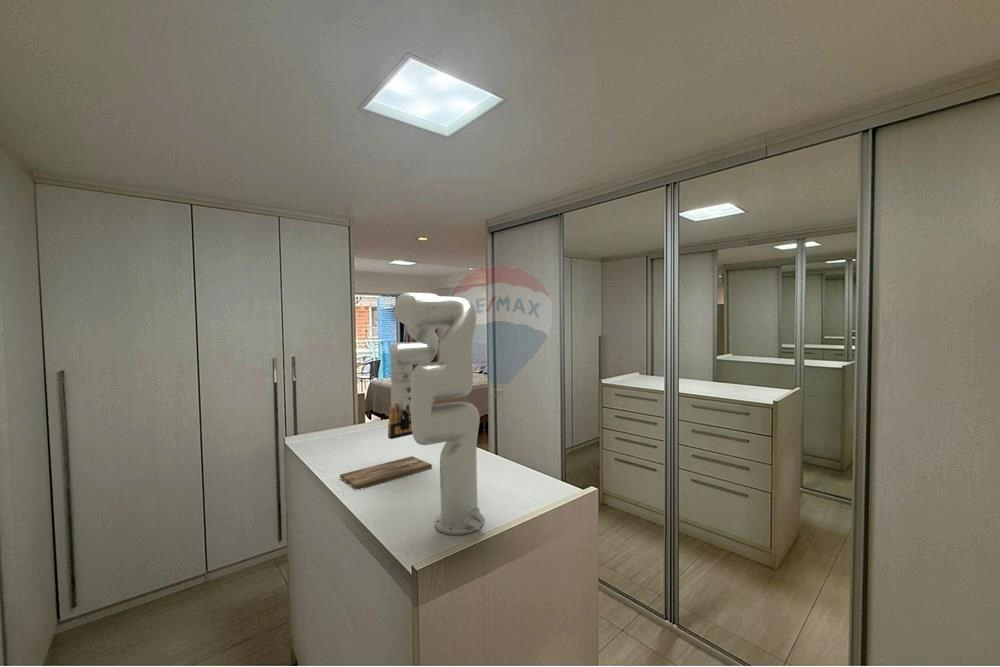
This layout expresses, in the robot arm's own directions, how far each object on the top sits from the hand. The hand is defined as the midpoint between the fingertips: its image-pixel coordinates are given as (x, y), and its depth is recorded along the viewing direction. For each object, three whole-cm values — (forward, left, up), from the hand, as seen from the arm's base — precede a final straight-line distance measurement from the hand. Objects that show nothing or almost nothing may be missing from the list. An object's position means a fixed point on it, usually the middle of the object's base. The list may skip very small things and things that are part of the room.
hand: (402, 428), depth 146 cm
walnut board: (+3, +5, -16) cm, 17 cm away
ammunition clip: (0, 0, -3) cm, 3 cm away
